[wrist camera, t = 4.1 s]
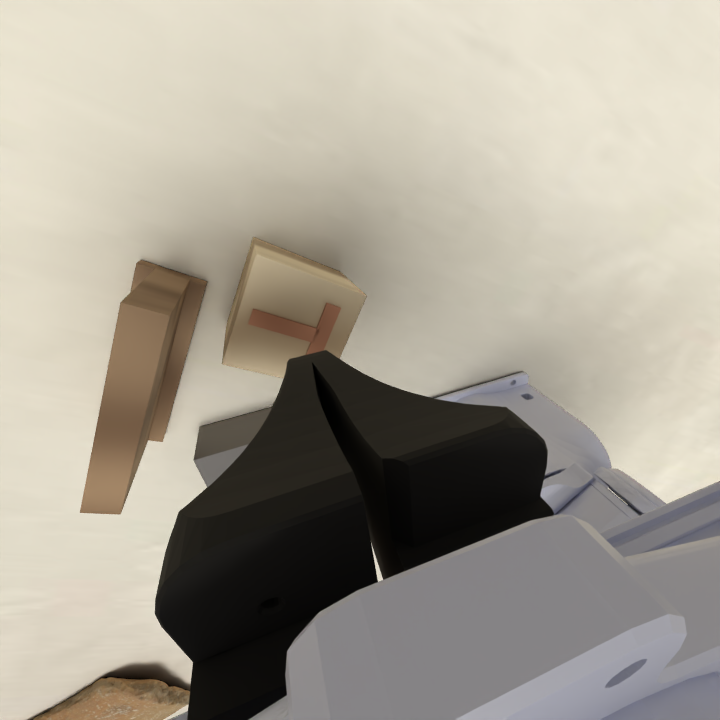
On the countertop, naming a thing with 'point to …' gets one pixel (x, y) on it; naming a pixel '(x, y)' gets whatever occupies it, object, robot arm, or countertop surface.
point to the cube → (287, 310)
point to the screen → (140, 379)
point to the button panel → (225, 443)
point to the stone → (121, 701)
